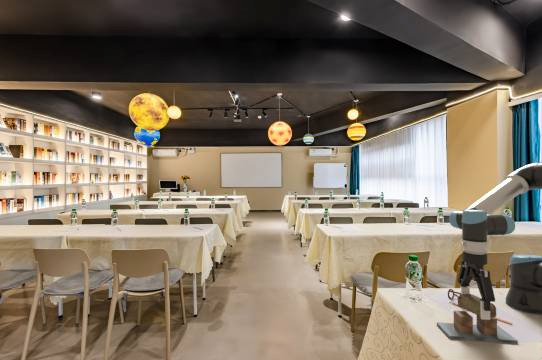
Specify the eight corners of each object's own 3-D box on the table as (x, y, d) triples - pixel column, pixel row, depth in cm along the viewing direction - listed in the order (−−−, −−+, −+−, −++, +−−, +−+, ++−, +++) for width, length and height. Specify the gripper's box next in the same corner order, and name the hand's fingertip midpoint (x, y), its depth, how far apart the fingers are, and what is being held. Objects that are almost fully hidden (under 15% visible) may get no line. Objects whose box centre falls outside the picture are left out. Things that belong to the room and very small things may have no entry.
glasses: (447, 297, 139) (446, 287, 139) (475, 298, 138) (475, 288, 138) (462, 309, 126) (462, 298, 126) (494, 310, 125) (494, 299, 125)
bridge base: (498, 328, 108) (498, 310, 108) (517, 343, 98) (517, 323, 98) (436, 324, 111) (436, 306, 111) (449, 338, 101) (449, 318, 101)
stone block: (483, 320, 98) (483, 305, 98) (456, 306, 110) (456, 293, 110) (498, 318, 99) (497, 304, 99) (470, 305, 111) (469, 292, 111)
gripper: (447, 244, 117) (447, 297, 117) (483, 260, 93) (483, 326, 93) (467, 245, 116) (467, 298, 116) (508, 261, 92) (509, 328, 92)
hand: (474, 311), depth 104 cm, fingers closed on stone block, 12 cm apart
